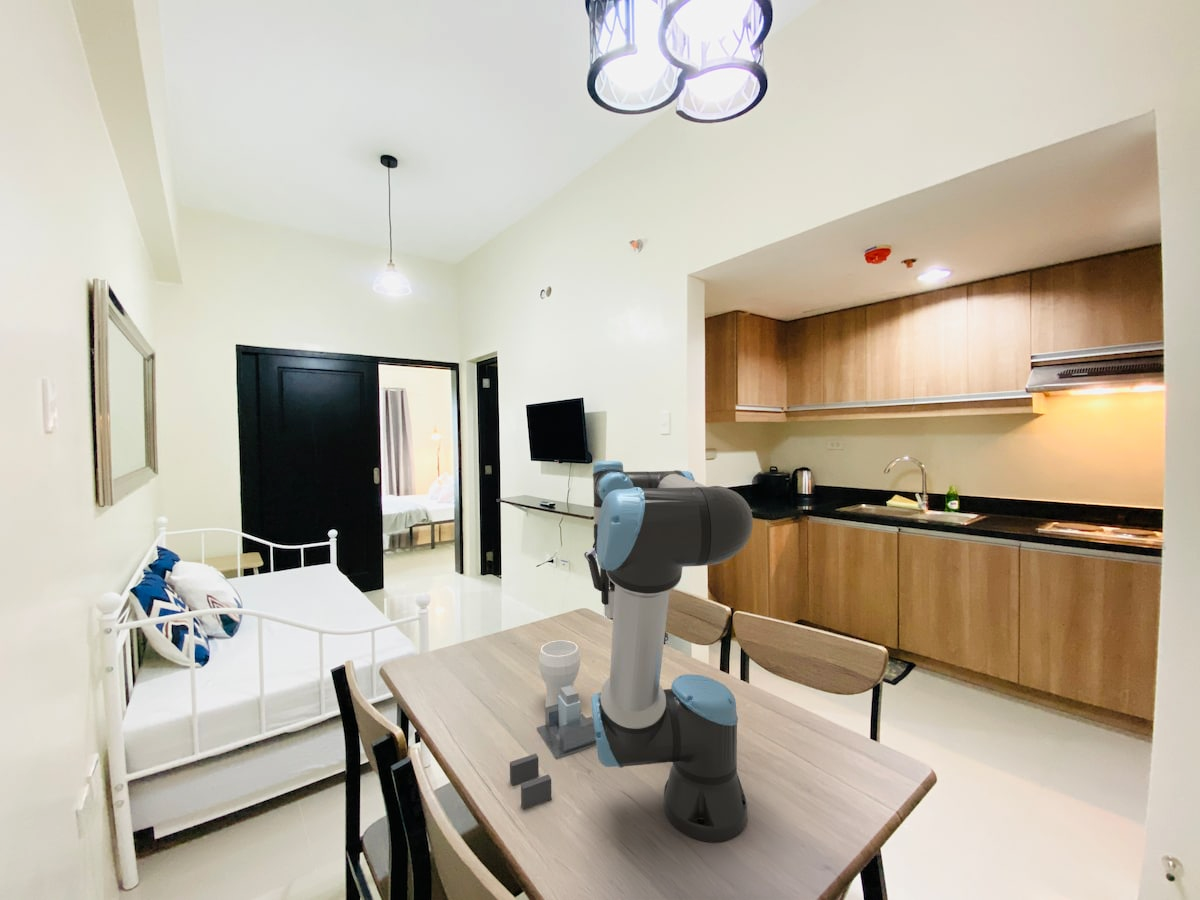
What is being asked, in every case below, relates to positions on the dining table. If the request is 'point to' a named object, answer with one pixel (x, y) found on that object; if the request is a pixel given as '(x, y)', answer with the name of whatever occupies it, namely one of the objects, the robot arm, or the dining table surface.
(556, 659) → the cup
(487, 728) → the dining table surface
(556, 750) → the port
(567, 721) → the plug
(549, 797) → the pair of dark bars
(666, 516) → the robot arm
